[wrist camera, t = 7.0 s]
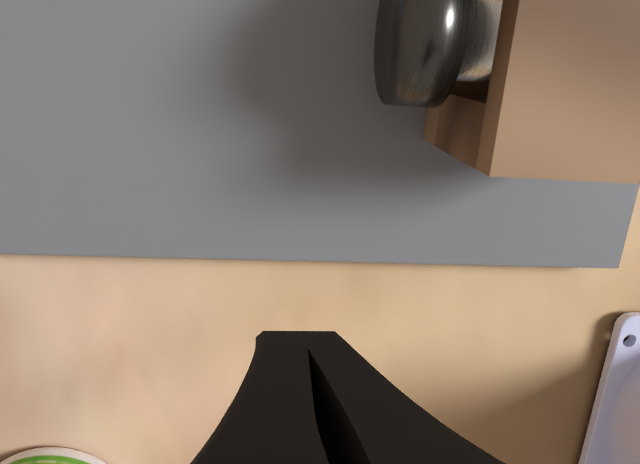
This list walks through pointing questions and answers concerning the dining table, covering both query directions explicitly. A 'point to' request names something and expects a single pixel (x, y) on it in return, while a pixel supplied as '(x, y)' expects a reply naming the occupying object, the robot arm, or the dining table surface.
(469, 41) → the shaft
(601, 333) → the dining table surface
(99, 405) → the dining table surface
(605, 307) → the dining table surface
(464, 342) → the dining table surface
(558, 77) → the bearing block
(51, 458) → the supplement bottle
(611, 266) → the base board
